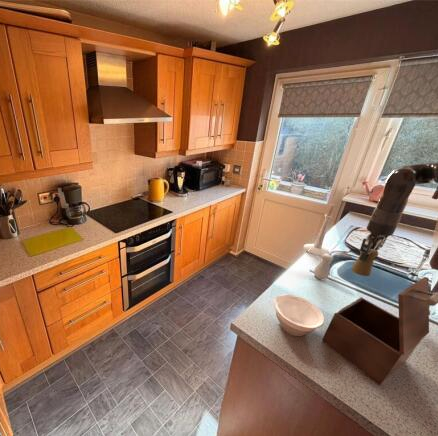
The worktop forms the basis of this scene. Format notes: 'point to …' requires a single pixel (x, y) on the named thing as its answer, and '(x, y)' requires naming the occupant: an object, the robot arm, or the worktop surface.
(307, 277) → the worktop surface
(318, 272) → the salt shaker
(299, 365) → the worktop surface
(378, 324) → the chest
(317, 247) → the candlestick
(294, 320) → the bowl
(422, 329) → the lid
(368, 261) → the cork
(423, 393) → the worktop surface
